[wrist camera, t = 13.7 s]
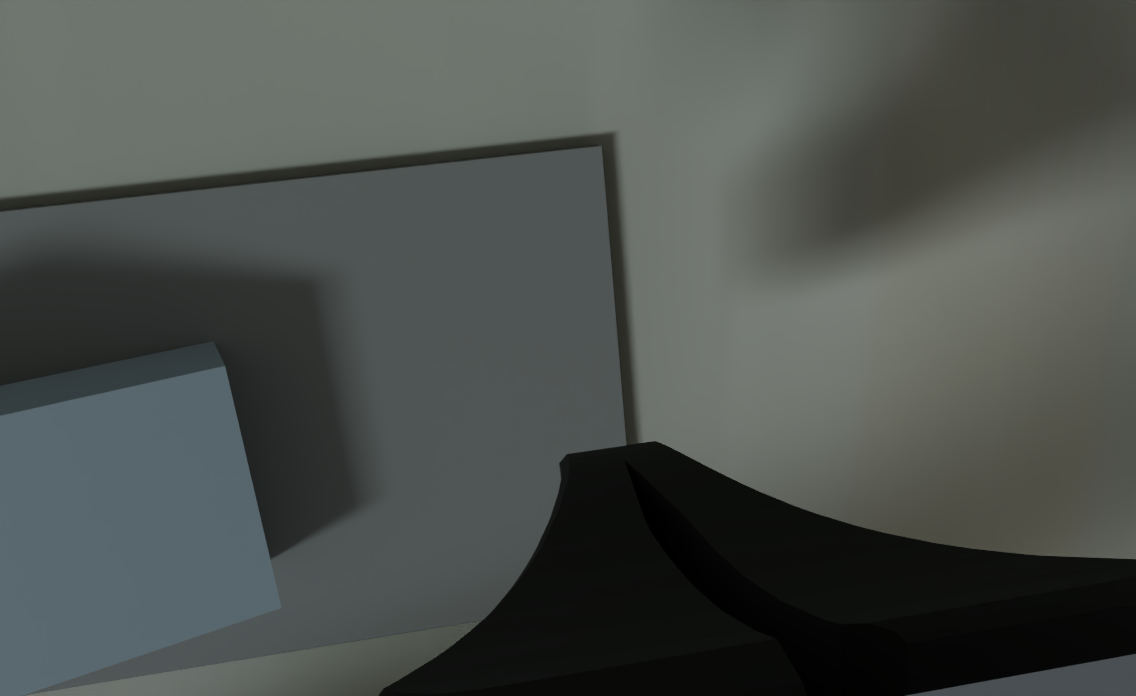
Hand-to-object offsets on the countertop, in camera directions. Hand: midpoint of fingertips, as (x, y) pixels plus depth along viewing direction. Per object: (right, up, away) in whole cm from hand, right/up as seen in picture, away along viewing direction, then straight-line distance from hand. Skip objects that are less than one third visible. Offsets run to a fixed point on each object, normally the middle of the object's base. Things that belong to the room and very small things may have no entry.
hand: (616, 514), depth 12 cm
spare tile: (-6, 0, +3) cm, 7 cm away
